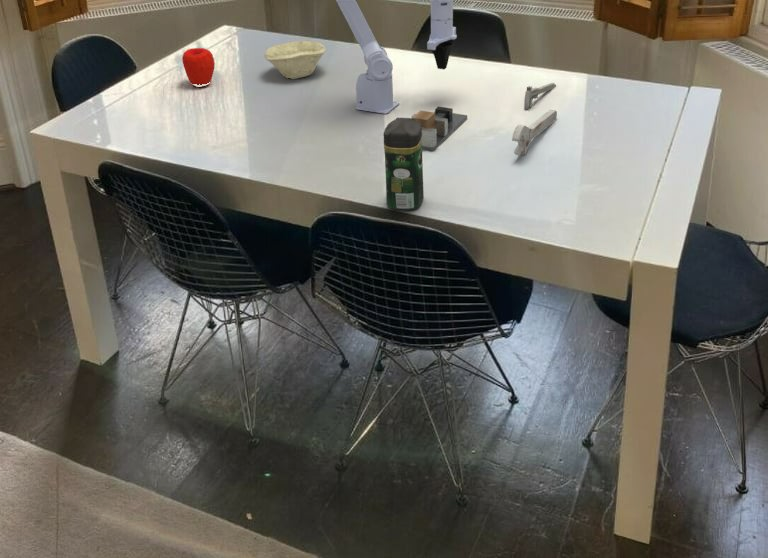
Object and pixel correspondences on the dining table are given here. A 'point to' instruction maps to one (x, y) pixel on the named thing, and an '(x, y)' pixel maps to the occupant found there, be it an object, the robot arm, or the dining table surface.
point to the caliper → (535, 94)
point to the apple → (198, 65)
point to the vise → (433, 140)
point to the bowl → (295, 57)
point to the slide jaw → (442, 120)
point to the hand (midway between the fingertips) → (441, 68)
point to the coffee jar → (403, 164)
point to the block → (425, 119)
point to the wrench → (531, 131)
